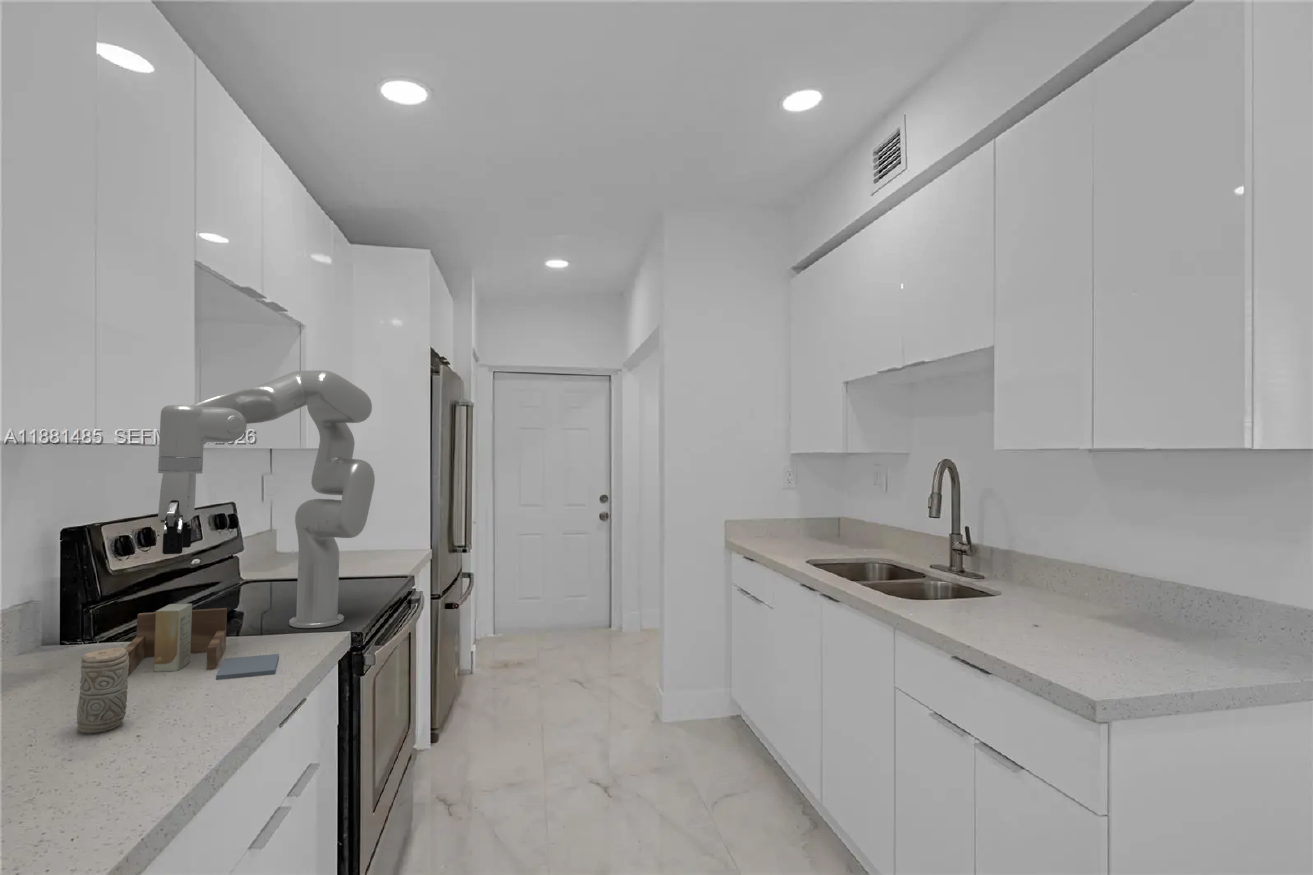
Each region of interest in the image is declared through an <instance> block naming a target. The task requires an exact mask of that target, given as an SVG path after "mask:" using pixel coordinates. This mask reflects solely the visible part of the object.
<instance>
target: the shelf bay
mask: <svg viewBox="0 0 1313 875" xmlns="http://www.w3.org/2000/svg"><path fill="white" fill-rule="evenodd" d="M227 615H228V608H227V607H221V608H220V607H219V608H206V609H205V608H204V609H192V622H191V653H190V654H201V653H202V654H203V653H206V671H211V670H216V669H217V667H218V665H219V664H220V663H219V662H220V661H221V659H222V657H223V654H224V653H225V651H226V646H227V644H226V643H227V623H228V622H227V621H228V620H227V619H228V617H227ZM136 619H137V620H136V621H137V622H136V637H134V638H133V639H132V640H131V641H130V643H128V645H126V646H125V647H124V649H126V651H127V652H128V656H129V669H128V677H129V676H130V675H131V674H132V672H133V671H134V670H135V669H136V668H137V667H138V666H139V664H140V663H141V662H142V661H143V660H144V658H151V657H152V658H154V654H155V623H156V611H154V612H142V613H138V614H137V617H136Z"/></svg>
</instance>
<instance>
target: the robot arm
mask: <svg viewBox="0 0 1313 875" xmlns="http://www.w3.org/2000/svg"><path fill="white" fill-rule="evenodd" d="M372 404H373V403H372V401H371V399H370V396H369V395H368V393H366V392H365V391H364V390H363V389H362V388H360V387H358V386H357V385H355V384H353V383H352V382H350V381H349V380H347V379H346V378H344V377H342V376H340V375H339V374H337V373H336V372H333V371H329V370H322V369H321V370H317V369H316V370H297V371H292V372H289V373H287V374H284V375H282V376H280V377H277V378H275V379H272V380H269V381H267V382H264V383H262V384H259V385H256V386H253V387H249V388H244V389H240V390H237V391H234V392H230V393H225V394H222V395H218V396H214V397H211V398H207V399H205V400H202V401H200V402H199V401H198V402H197V403H195V404H192V405H183V404H182V405H181V404H177V405H176V404H171V405H169V404H168V405H165V406H164V407H162V409H161V410H160V417H159V418H160V419H159V420H160V421H159V438H158V439H159V440H158V441H159V442H158V463H157V464H158V466H157V473H158V474H162V476H161V477H162V478H161V483H160V491H159V502H158V514H157V515H158V516H157V522H159V524H163V523H164V528H163V534H162V554H163V555H181V554H182V553H183V549H185V548H186V549H189V548H190V547H191V546H192V519H193V518H194V515H195V508H196V507H195V506H196V489H197V487H196V484H197V474H198V475H199V474H203V471H204V470H203V465H204V458H203V457H204V447H205V444H204V443H217V444H218V443H221V444H224V443H231V442H235V441H237V440H239V439H241V438H242V437H243V436H244V435H245V433H246V432H247V426H248V425H249V424H260V423H266V422H270V421H271V422H272V421H275V420H277V419H280V418H281V417H284V416H286V415H287V414H289V413H292V412H294V411H296V410H299V409H301V408H302V407H306V408H307V412H308V415H309V416H310V418H311V419H312V421H313V422H314V425H315V426H316V428H317V430H318V434H319V444H318V449H317V454H316V458H315V461H314V464H313V465H314V466H313V470H312V475H311V483H310V484H311V487H312V489H313V490H314V491H315V492H317V493H318V494H322V495H327V496H328V495H329V496H341V499H329V498H313V499H309V500H306V501H304V502H303V503H301V504H300V505H299V507H298V508H297V510H296V512H295V517H294V523H295V530H296V534H297V541H298V542H297V543H298V557H297V558H298V559H297V560H298V561H297V582H296V583H297V585H296V587H297V589H296V590H297V591H296V616H293V617H292V618H290V619H289V621H288V623H289V624H288V625H289V626H291V627H293V628H296V629H316V628H327V627H331V626H335V625H336V626H337V625H338V624H342V623H343V622H344V620H345V616H344V615H343V614H341V613H339V612H338V611H339V610H338V609H339V608H338V606H339V581H340V580H339V577H340V575H339V574H340V549H339V545H338V543H337V541H336V539H335V538H338V539H339V538H340V539H352V538H356V537H357V536H359V535H360V534H361V533H362V532H363V530H364V528H365V526H366V524H367V520H368V516H369V511H370V507H371V502H372V498H373V493H374V489H375V482H376V481H375V479H376V478H375V477H376V476H375V471H374V468H373V467H372V466H371V464H370V463H369V462H367V461H365V460H364V459H363V460H362V459H359V458H357V459H356V458H353V455H354V451H355V444H356V442H355V437H354V435H353V432H352V430H351V428H350V427H349V426H348V424H358V423H359V424H360V423H362V422H364V421H366V420H368V418H370V416H371V414H372V410H373V405H372Z"/></svg>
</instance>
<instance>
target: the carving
mask: <svg viewBox="0 0 1313 875" xmlns="http://www.w3.org/2000/svg"><path fill="white" fill-rule="evenodd" d="M80 664H81V666H80V672H81V673H80V674H81V677H80V681H79V682H80V684H79V685H80V686H79V695H78V704H77V709H76V724H77V729H78V730H79V731H80V732H82V733H84V734H100V733H103V732H107V731H110V730H114V729H116V728H117V727H118V726H120V725H121V724H122V722H123V720H124V719H125V718H126V714H127V708H128V706H127V702H128V691H127V690H128V688H129V687H128V686H129V682H128V678H129V676H128V669H129V656H128V652H127V651H126V649H125V647H124V648H123V647H108V648H103V649H99V650H94V651H89V652H87V653H84V655H82V657H81V661H80Z"/></svg>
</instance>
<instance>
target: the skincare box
mask: <svg viewBox="0 0 1313 875" xmlns="http://www.w3.org/2000/svg"><path fill="white" fill-rule="evenodd" d="M192 610H193V603H169V604H167V605H165V606H163V607H161V608H159V609H158V610H155V612H156V623H155V654H154V657H153V660H154V662H153V672H154V673H155V672H156V673H157V672H178V671H179V670H181V669H182V668H184V667H185V666H187V664H189V663H190V662H191V654H192V653H191V622H192Z"/></svg>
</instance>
